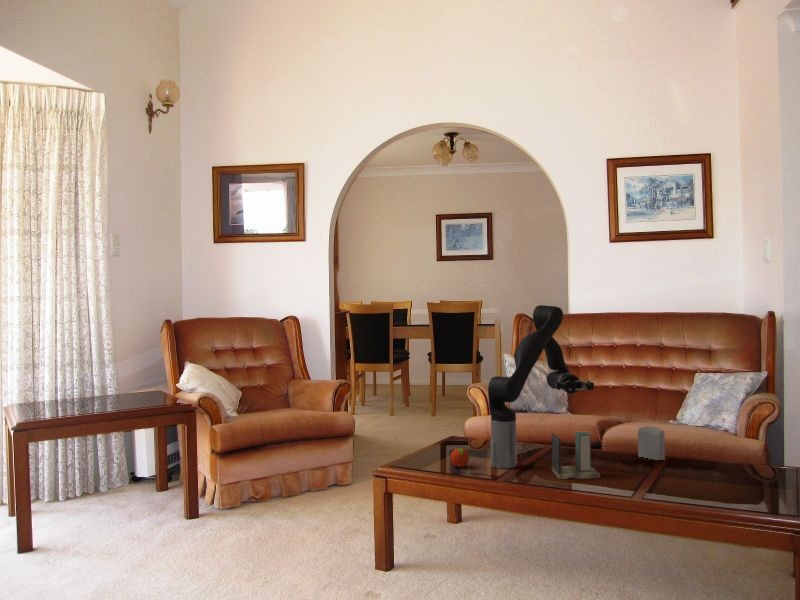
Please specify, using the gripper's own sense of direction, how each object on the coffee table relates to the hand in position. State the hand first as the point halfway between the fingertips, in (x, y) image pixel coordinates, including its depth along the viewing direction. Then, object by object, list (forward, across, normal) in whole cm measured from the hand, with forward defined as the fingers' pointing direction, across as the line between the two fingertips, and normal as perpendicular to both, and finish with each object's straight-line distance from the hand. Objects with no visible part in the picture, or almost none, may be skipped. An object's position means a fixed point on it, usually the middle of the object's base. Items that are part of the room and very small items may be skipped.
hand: (579, 387), depth 265 cm
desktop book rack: (+20, -7, +28) cm, 35 cm away
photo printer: (-2, +28, +28) cm, 40 cm away
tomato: (+7, -46, +28) cm, 55 cm away
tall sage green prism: (+20, -4, +26) cm, 33 cm away
